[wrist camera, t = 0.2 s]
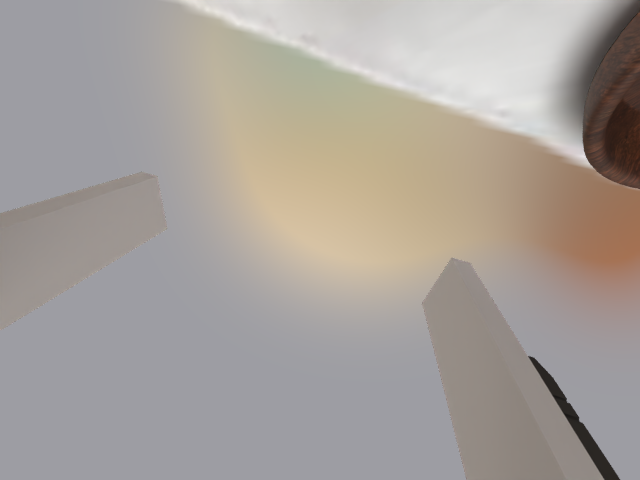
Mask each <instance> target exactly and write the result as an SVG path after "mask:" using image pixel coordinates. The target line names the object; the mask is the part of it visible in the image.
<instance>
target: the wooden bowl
mask: <svg viewBox="0 0 640 480" xmlns="http://www.w3.org/2000/svg"><path fill="white" fill-rule="evenodd" d="M583 145H584V152H585V155H586V158H587V159H588V161H589V163H590V164H591V165H592V166H593V167H594V169H595V170H596V171H597V172H599V173H600V174H601V175H603V176H604V177H606V178H608V179H609V180H611V181H614V182H616V183H619V184H622V185H625V186H629V187H633V188H638V189H640V11H639V12H638V14H637V15H636V16H635V17H634V18H633V19H632V20H631V22H630V23H629V24H628V25H627V26H626V28H625V29H624V30H623V31H622V33H621V34H620V35H619V37H618V38H617V40H616V41H615V42H614V44H613V45H612V47H611V48H610V49H609V51H608V52H607V54H606V56H605V57H604V59H603V60H602V62H601V64H600V66H599V68H598V70H597V72H596V74H595V76H594V78H593V81H592V83H591V86H590V88H589V91H588V95H587V99H586V103H585V108H584V117H583Z"/></svg>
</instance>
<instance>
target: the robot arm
mask: <svg viewBox="0 0 640 480" xmlns="http://www.w3.org/2000/svg"><path fill="white" fill-rule="evenodd" d="M166 229H167V225H166V220H165V214H164V209H163V203H162V198H161V193H160V188H159V182H158V177H157V176H155V175H151V174H148V173H144V172H139V173H136V174H133V175H129V176H126V177H122V178H119V179H115V180H112V181H109V182H105V183H102V184H98V185H95V186H92V187H88V188H85V189H82V190H78V191H75V192H71V193H68V194H65V195H61V196H58V197H54V198H51V199H48V200H44V201H41V202H37V203H34V204H30V205H27V206H24V207H20V208H17V209H13V210H10V211H7V212H3V213H0V330H2V329H4V328H5V327H7V326H9V325H10V324H12V323H13V322H15V321H17V320H18V319H20V318H22V317H23V316H25V315H27V314H28V313H30V312H31V311H33V310H35V309H36V308H38V307H40V306H41V305H43V304H45V303H46V302H48V301H50V300H51V299H53V298H55V297H56V296H58V295H59V294H61V293H63V292H64V291H66V290H68V289H69V288H71V287H73V286H74V285H76V284H78V283H79V282H81V281H82V280H84V279H85V278H87V277H89V276H91V275H92V274H94V273H96V272H97V271H99V270H101V269H102V268H104V267H105V266H107V265H109V264H110V263H112V262H114V261H115V260H117V259H119V258H120V257H122V256H123V255H125V254H127V253H128V252H130V251H132V250H133V249H135V248H137V247H138V246H140V245H142V244H143V243H145V242H146V241H148V240H150V239H151V238H153V237H155V236H156V235H158V234H160V233H161V232H163V231H165V230H166ZM422 304H423V308H424V312H425V316H426V320H427V324H428V328H429V332H430V336H431V340H432V344H433V348H434V352H435V356H436V360H437V364H438V368H439V372H440V376H441V380H442V384H443V388H444V392H445V395H446V400H447V404H448V408H449V412H450V416H451V420H452V424H453V428H454V432H455V436H456V440H457V443H458V447H459V452H460V456H461V460H462V464H463V468H464V472H465V475H466V479H467V480H620V479H619V477H618V476H617V474H616V473H615V471H614V470H613V468H612V467H611V465H610V463H609V462H608V460H607V459H606V457H605V456H604V454H603V453H602V451H601V450H600V448H599V447H598V445H597V444H596V442H595V441H594V439H593V438H592V436H591V435H590V433H589V432H588V430H587V429H586V427H585V426H584V424H583V423H581V422H579V417H578V415H577V414H576V412H575V410H574V409H573V408H572V406H571V404H570V403H567V401H566V400H567V398H566V397H565V395H564V394H563V392H562V391H561V389H560V388H559V386H558V385H557V383H556V382H555V380H554V379H553V377H552V376H551V375H550V374H549V373H548V372H547V371H546V370H545V369H544V368H543V367H542V366H541V365H540V364H539V363H538V361H537V360H536V359H535V358H533V357H529V356H527V354H526V353H525V351H524V349H523V347H522V346H521V344H520V343H519V341H518V339H517V338H516V336H515V334H514V333H513V331H512V330H511V328H510V326H509V325H508V323H507V322H506V320H505V318H504V317H503V315H502V313H501V312H500V310H499V309H498V307H497V305H496V304H495V302H494V300H493V299H492V297H491V296H490V294H489V292H488V291H487V289H486V288H485V286H484V284H483V283H482V281H481V280H480V278H479V276H478V275H477V273H476V271H475V270H474V268H473V267H472V265H471V264H470V263H469V262H465V261H462V260H458V259H455V258H451V259H450V261H449V263H448V264H447V266H446V267H445V269H444V270H443V272H442V273H441V275H440V276H439V278H438V279H437V281H436V282H435V284H434V286H433V287H432V288H431V290H430V292H429V293H428V295H427V296H426V298H425V299H424V301H423V302H422Z"/></svg>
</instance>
